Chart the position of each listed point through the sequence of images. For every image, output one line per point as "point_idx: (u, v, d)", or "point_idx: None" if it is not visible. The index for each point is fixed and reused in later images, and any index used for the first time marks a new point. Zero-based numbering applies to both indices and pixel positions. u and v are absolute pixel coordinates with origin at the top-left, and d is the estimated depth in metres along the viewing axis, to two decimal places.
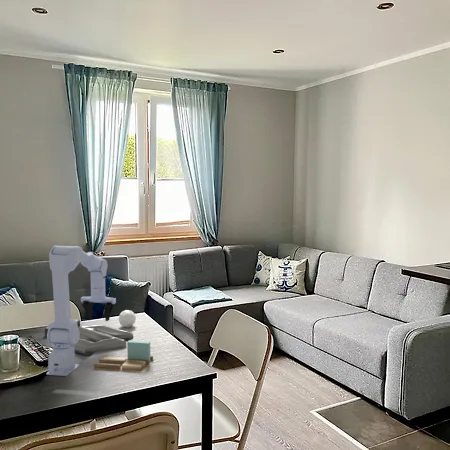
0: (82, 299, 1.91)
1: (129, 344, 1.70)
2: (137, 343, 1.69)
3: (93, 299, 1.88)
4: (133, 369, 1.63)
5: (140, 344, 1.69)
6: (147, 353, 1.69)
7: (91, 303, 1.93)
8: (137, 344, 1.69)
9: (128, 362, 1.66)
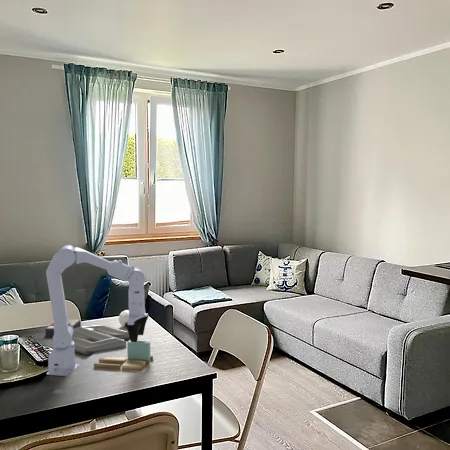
0: None
1: (129, 344, 1.70)
2: (137, 343, 1.69)
3: None
4: (133, 369, 1.63)
5: (140, 344, 1.69)
6: (147, 353, 1.69)
7: (143, 318, 1.74)
8: (137, 344, 1.69)
9: (128, 362, 1.66)
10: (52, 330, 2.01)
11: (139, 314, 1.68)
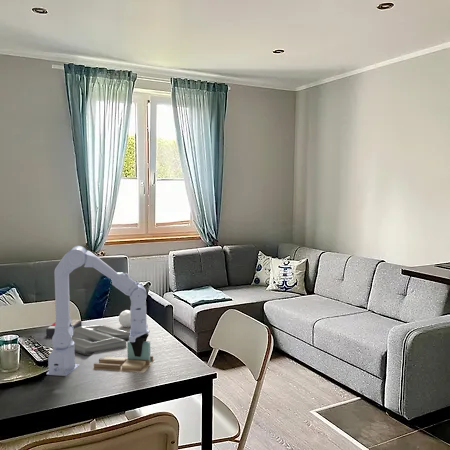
0: None
1: (129, 344, 1.70)
2: None
3: None
4: (133, 369, 1.63)
5: None
6: (147, 353, 1.69)
7: (142, 337, 1.71)
8: None
9: (128, 362, 1.66)
10: (53, 330, 2.01)
11: (141, 331, 1.67)
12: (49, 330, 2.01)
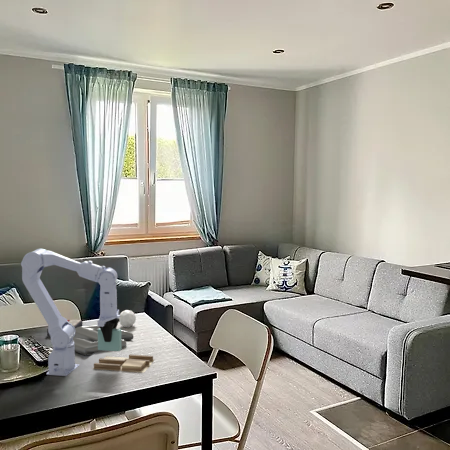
0: None
1: (99, 331, 1.65)
2: None
3: None
4: (133, 369, 1.63)
5: None
6: (118, 341, 1.64)
7: (113, 322, 1.66)
8: None
9: (128, 362, 1.66)
10: None
11: (110, 315, 1.63)
12: None
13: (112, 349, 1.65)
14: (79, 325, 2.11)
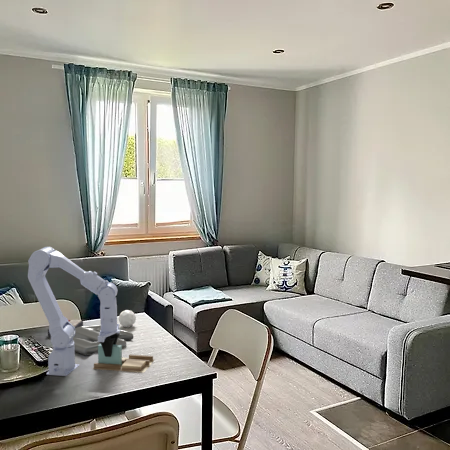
0: None
1: (100, 347, 1.66)
2: None
3: None
4: (133, 369, 1.63)
5: None
6: (118, 357, 1.65)
7: (113, 336, 1.67)
8: None
9: (128, 362, 1.66)
10: None
11: (111, 330, 1.63)
12: None
13: None
14: (80, 325, 2.11)
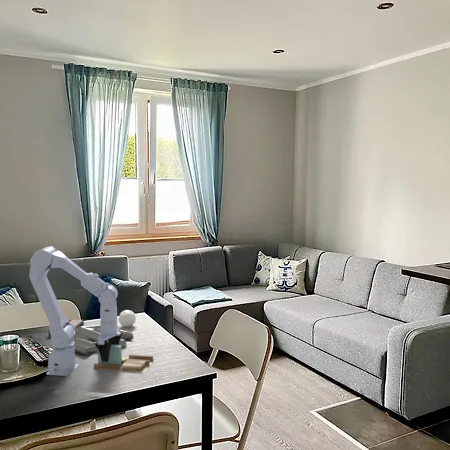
0: None
1: None
2: None
3: None
4: (133, 369, 1.63)
5: (111, 348, 1.65)
6: (118, 357, 1.65)
7: (116, 336, 1.69)
8: None
9: (128, 362, 1.66)
10: None
11: (111, 333, 1.63)
12: None
13: None
14: (80, 325, 2.11)
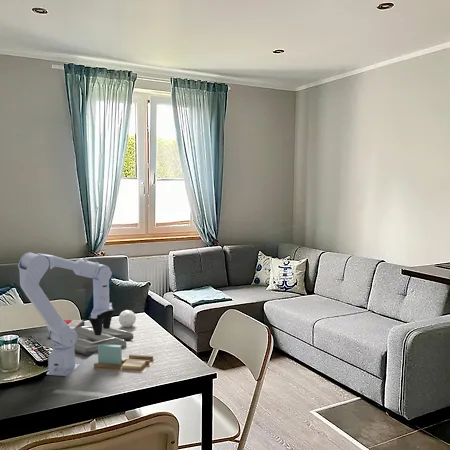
0: None
1: (100, 348, 1.66)
2: (108, 347, 1.65)
3: None
4: (133, 369, 1.63)
5: (111, 348, 1.65)
6: (118, 357, 1.65)
7: (108, 312, 1.78)
8: (108, 347, 1.65)
9: (128, 362, 1.66)
10: None
11: (103, 308, 1.72)
12: None
13: None
14: (81, 325, 2.10)
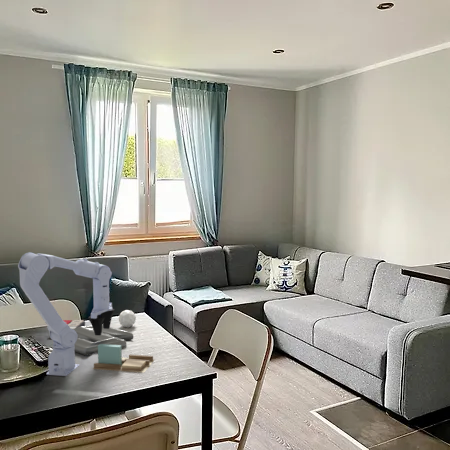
0: None
1: (100, 348, 1.66)
2: (108, 347, 1.65)
3: None
4: (133, 369, 1.63)
5: (111, 348, 1.65)
6: (118, 357, 1.65)
7: (108, 312, 1.78)
8: (108, 347, 1.65)
9: (128, 362, 1.66)
10: None
11: (103, 308, 1.72)
12: None
13: None
14: (82, 325, 2.10)
